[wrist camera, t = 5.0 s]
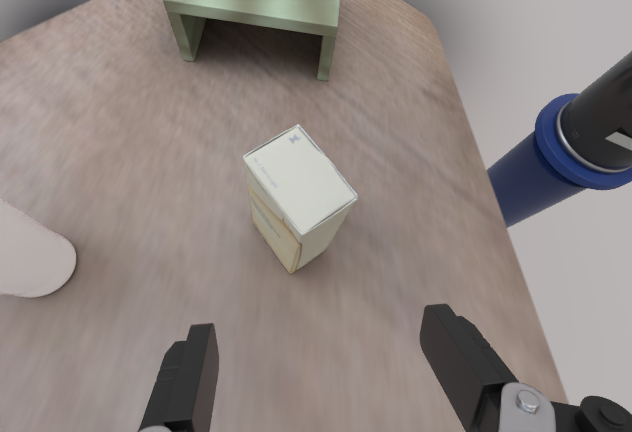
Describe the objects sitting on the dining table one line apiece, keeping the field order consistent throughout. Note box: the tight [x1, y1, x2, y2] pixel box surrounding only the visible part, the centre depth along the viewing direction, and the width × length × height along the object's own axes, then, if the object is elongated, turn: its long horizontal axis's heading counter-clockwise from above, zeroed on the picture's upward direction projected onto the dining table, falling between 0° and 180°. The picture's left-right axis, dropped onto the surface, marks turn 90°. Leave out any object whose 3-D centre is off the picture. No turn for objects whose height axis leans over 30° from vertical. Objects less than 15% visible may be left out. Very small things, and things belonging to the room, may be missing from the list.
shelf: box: [163, 0, 340, 81], centre depth 36 cm, size 16×13×7 cm
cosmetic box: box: [243, 125, 358, 274], centre depth 25 cm, size 6×4×12 cm
